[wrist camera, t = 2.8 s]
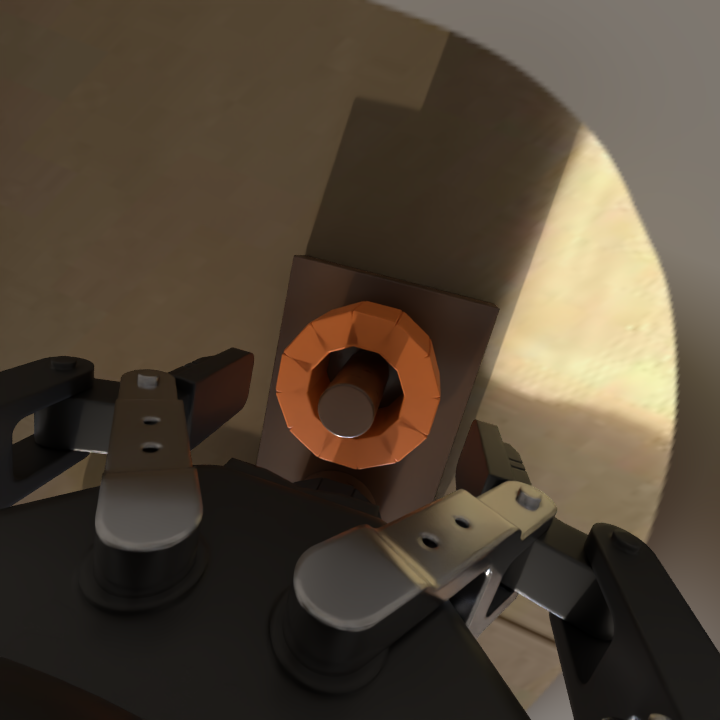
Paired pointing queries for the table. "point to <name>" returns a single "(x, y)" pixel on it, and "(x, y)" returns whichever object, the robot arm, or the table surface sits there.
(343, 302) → the tape rack
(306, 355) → the orange tape
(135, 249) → the table surface
